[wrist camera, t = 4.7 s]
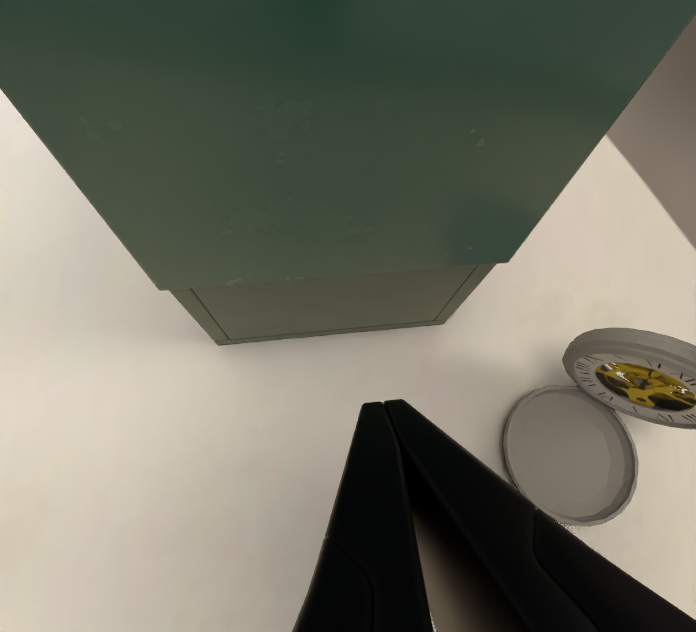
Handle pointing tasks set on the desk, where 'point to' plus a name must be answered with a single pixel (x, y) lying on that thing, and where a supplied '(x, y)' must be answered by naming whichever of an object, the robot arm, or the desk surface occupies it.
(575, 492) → the pocket watch
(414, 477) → the robot arm
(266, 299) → the panel
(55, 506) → the desk surface
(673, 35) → the lid
